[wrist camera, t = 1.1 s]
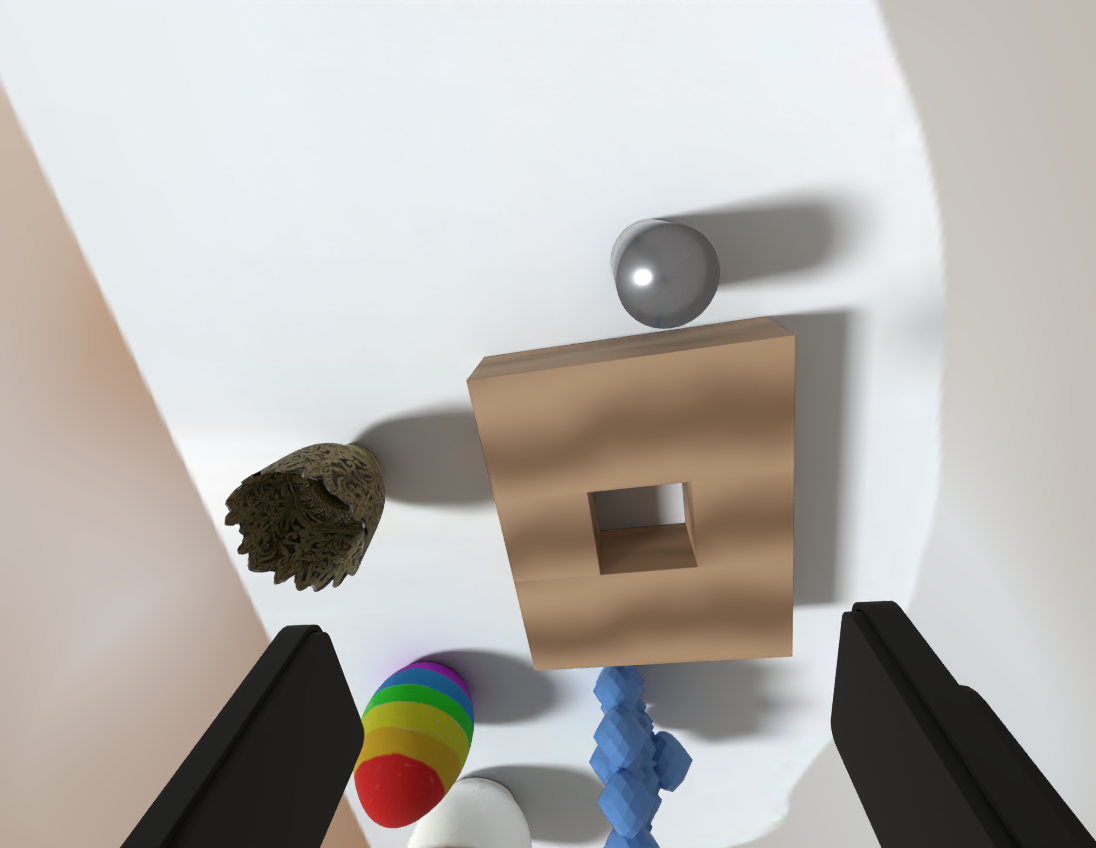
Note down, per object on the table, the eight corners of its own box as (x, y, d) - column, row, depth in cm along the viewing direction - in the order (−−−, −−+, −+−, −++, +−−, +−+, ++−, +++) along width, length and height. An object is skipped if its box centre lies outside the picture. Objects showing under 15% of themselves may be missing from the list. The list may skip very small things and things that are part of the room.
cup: (290, 414, 33) (203, 473, 26) (401, 411, 33) (345, 471, 25) (316, 514, 36) (245, 592, 29) (419, 513, 35) (373, 594, 28)
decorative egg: (362, 665, 41) (296, 796, 32) (448, 635, 39) (403, 765, 30) (418, 732, 44) (371, 870, 35) (501, 706, 42) (474, 847, 33)
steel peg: (606, 226, 27) (610, 233, 20) (684, 212, 27) (717, 215, 19) (615, 302, 29) (622, 335, 22) (689, 290, 28) (721, 320, 21)
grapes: (683, 737, 41) (714, 929, 30) (598, 739, 42) (599, 926, 31) (674, 624, 37) (707, 800, 26) (580, 629, 38) (574, 801, 27)
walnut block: (484, 357, 31) (466, 380, 27) (766, 316, 28) (795, 335, 24) (541, 620, 38) (535, 670, 34) (769, 604, 36) (792, 656, 32)
